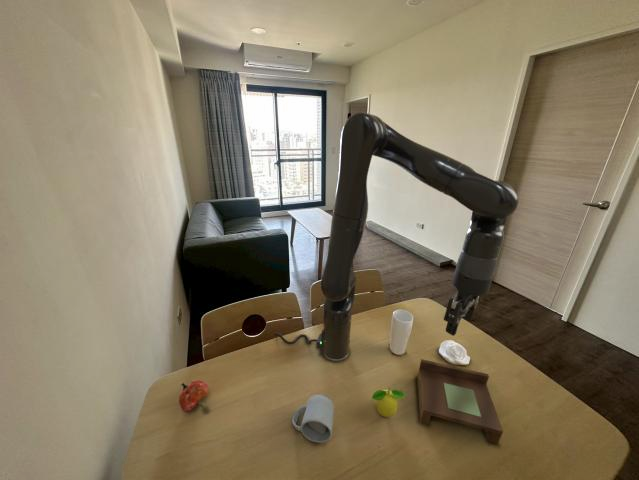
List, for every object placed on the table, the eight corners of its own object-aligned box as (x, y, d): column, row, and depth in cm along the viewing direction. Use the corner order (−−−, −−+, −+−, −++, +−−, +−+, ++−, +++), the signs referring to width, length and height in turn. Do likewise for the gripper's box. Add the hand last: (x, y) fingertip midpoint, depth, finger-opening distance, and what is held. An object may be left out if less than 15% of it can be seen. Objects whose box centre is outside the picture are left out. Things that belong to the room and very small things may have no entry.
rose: (449, 331, 92) (477, 347, 85) (446, 340, 94) (474, 357, 87) (435, 344, 86) (465, 362, 79) (433, 354, 88) (461, 372, 81)
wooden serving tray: (420, 422, 67) (425, 402, 64) (416, 377, 79) (421, 358, 76) (497, 444, 62) (507, 423, 59) (480, 393, 75) (488, 373, 72)
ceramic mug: (334, 412, 69) (335, 392, 66) (331, 445, 61) (331, 425, 58) (296, 406, 70) (295, 387, 67) (289, 438, 63) (287, 418, 60)
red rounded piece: (215, 401, 73) (195, 373, 75) (219, 398, 68) (198, 369, 70) (191, 424, 68) (170, 394, 70) (193, 423, 63) (171, 390, 65)
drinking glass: (404, 343, 92) (411, 310, 87) (409, 358, 86) (416, 323, 80) (386, 341, 93) (391, 308, 87) (389, 356, 87) (394, 321, 81)
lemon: (401, 413, 69) (407, 387, 65) (391, 430, 65) (396, 403, 61) (380, 397, 73) (384, 372, 69) (369, 411, 69) (372, 386, 65)
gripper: (471, 256, 65) (456, 308, 71) (443, 272, 56) (429, 329, 63) (504, 267, 59) (486, 322, 65) (479, 287, 51) (460, 348, 57)
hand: (458, 326), depth 64 cm, fingers open, 8 cm apart
